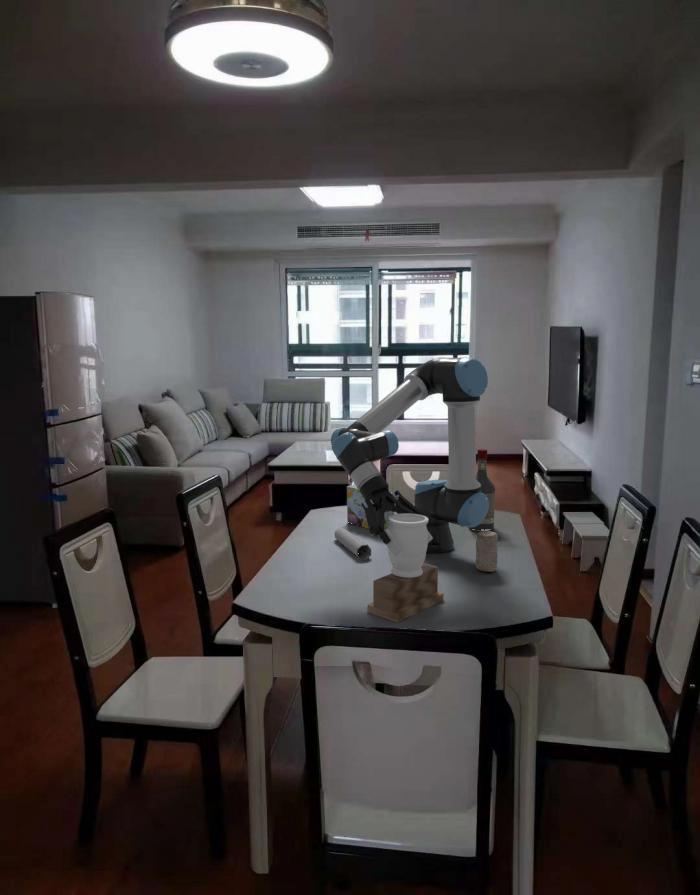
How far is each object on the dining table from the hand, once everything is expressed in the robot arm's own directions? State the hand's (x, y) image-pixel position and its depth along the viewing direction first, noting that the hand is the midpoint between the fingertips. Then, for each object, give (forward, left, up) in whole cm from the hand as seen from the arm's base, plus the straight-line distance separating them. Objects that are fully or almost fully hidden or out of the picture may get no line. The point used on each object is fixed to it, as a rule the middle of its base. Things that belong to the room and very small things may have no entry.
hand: (414, 547), depth 173 cm
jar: (0, -2, -8) cm, 8 cm away
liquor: (-80, -28, -17) cm, 87 cm away
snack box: (-53, -60, -17) cm, 82 cm away
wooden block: (0, -2, -17) cm, 17 cm away
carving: (-39, -1, -17) cm, 43 cm away
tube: (-28, -48, -17) cm, 58 cm away
